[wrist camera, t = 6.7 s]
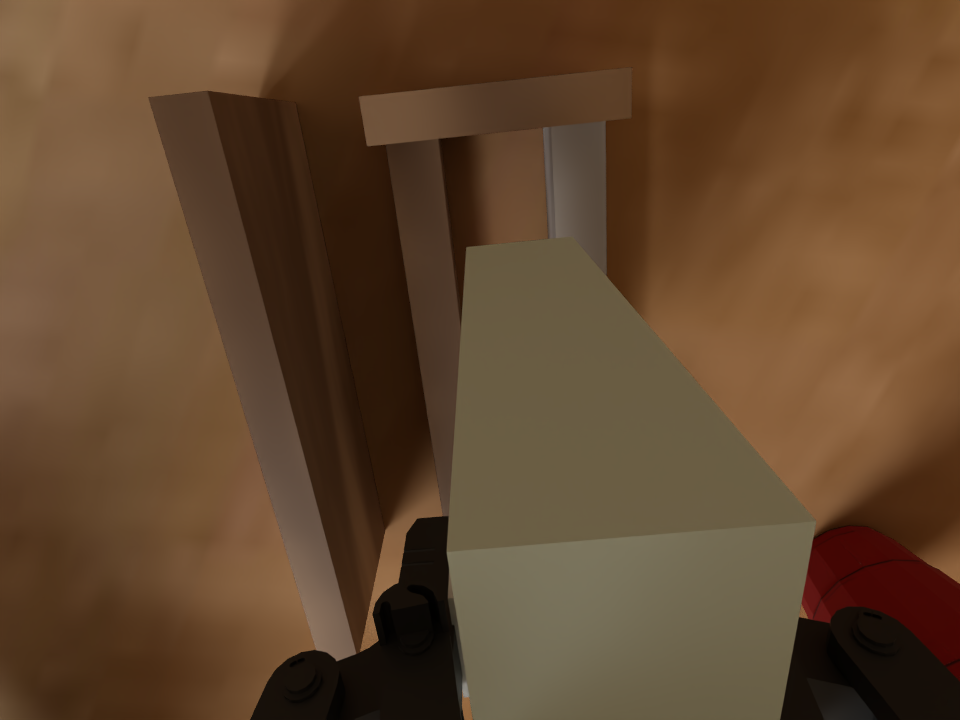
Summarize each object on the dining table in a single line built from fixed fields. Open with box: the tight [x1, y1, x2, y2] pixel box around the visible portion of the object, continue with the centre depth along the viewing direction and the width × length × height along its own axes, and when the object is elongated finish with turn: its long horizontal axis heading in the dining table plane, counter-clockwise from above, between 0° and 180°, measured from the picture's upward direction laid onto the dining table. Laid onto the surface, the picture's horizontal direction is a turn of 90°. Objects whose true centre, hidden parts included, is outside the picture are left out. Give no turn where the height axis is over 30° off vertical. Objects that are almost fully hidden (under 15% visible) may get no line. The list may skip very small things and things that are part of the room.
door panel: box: [447, 237, 816, 720], centre depth 12 cm, size 3×12×12 cm, turn 5°
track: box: [148, 67, 632, 661], centre depth 22 cm, size 13×22×8 cm, turn 6°
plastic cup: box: [801, 526, 960, 681], centre depth 26 cm, size 11×11×12 cm
